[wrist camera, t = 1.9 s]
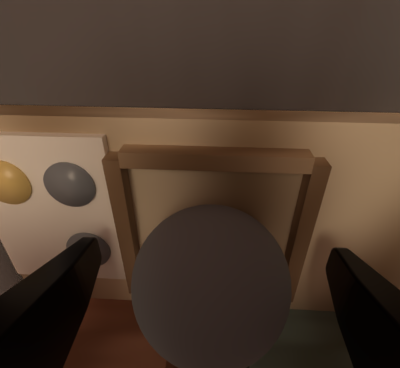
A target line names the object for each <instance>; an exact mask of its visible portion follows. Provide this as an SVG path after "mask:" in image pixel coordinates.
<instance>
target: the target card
mask: <svg viewBox="0 0 400 368" xmlns="http://www.w3.org/2000/svg"><path fill="white" fill-rule="evenodd" d="M108 151H109V150H108V145H107V140H106V134H85V133H46V132H6V131H0V240H1V242H2V244H3V246H4V248H5V250H6V252H7V254H8V256H9V258H10V259H11V261H12V263H13V265H14V267H15V269H16V271H17V273H18V274H28V275H30V274H31V273H33V272H34V271H36V270H37V269H38V268H40V267H41V266H43V265H44V264H45V263H47V262H48V261H50V260H51V259H52V258H54V257H55V256H57V255H58V254H59V253H61V252H62V251H64V250H65V249H66V248H68V247H69V246H71V245H72V244H73V243H75V242H76V241H78V240H79V239H80V238H82V237H85V236H86V237H96V238H97V239H98V243H99V246H100V250H101V254H102V261H101V265H100V268H99V272H98V275H97V278H107V279H126V276H125V271H124V266H123V262H122V257H121V252H120V247H119V242H118V238H117V233H116V228H115V223H114V218H113V213H112V209H111V204H110V199H109V194H108V189H107V185H106V180H105V175H104V170H103V165H102V159H103V158H104V156H105V155H106V154H107V153H108Z"/></svg>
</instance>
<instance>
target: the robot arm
mask: <svg viewBox="0 0 400 368" xmlns="http://www.w3.org/2000/svg"><path fill="white" fill-rule="evenodd" d="M101 261H102V254H101V250H100V246H99V243H98V239H97V238H96V237H86V236H85V237H82V238H80V239H79V240H78V241H76V242H75V243H73V244H72V245H71V246H69V247H68V248H66V249H65V250H64V251H62V252H61V253H59V254H58V255H57V256H55V257H54V258H52V259H51V260H50V261H48V262H47V263H45V264H44V265H43V266H41V267H40V268H38V269H37V270H36V271H34V272H33V273H31V274H30V275H29V276H27V277H26V278H24V279H23V280H22V281H20V282H19V283H17V284H16V285H15V286H13V287H12V288H10V289H9V290H8V291H6V292H5V293H3V294H2V295H1V296H0V368H63V367H64V364H65V362H66V360H67V357H68V355H69V352H70V350H71V347H72V345H73V343H74V340H75V338H76V335H77V333H78V330H79V328H80V326H81V323H82V321H83V318H84V316H85V313H86V311H87V308H88V305H89V302H90V299H91V296H92V292H93V289H94V285H95V282H96V278H97V275H98V272H99V268H100V265H101ZM326 276H327V280H328V284H329V289H330V293H331V297H332V302H333V306H334V310H335V314H336V318H337V322H338V325H339V328H340V331H341V334H342V336H343V339H344V342H345V345H346V348H347V351H348V354H349V356H350V359H351V362H352V365H353V368H400V289H398V288H397V287H396V286H395V285H393V284H392V283H391V282H389V281H388V280H387V279H386V278H384V277H383V276H382V275H381V274H379V273H378V272H377V271H376V270H374V269H373V268H372V267H371V266H369V265H368V264H367V263H366V262H364V261H363V260H362V259H361V258H359V257H358V256H357V255H356V254H354V253H353V252H352V251H351V250H349V249H348V248H342V247H334V248H332V250H331V252H330V255H329V258H328V261H327V263H326Z"/></svg>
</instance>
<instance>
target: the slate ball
mask: <svg viewBox="0 0 400 368" xmlns="http://www.w3.org/2000/svg"><path fill="white" fill-rule="evenodd" d="M131 298H132V306H133V310H134V314H135V317H136V320H137V323H138V325H139V328H140V330H141V331H142V333H143V335H144V337H145V338H146V340H147V341H148V343H149V344H150V345H151V346H152V347H153V349H154V350H155V351H156V352H157V353H158V354H159V355H160V356H161V357H163V358H164V359H165V360H167V361H168V362H170V363H171V364H173V365H174V366H176V367H178V368H246V367H248V366H250V365H252V364H253V363H255V362H257V361H258V360H259V359H260V358H261V357H263V356H264V355H265V354H266V353H267V352H268V351H269V350H270V349H271V348H272V346H273V345H274V344H275V342H276V341H277V339H278V338H279V336H280V334H281V332H282V331H283V329H284V326H285V324H286V321H287V318H288V315H289V311H290V305H291V298H292V292H291V277H290V272H289V267H288V264H287V261H286V258H285V256H284V253H283V251H282V249H281V247H280V246H279V244H278V242H277V241H276V239H275V238H274V236H273V235H272V234H271V233H270V232H269V231H268V230H267V229H266V228H265V226H264V225H262V224H261V223H260V222H259V221H257V220H256V219H255V218H253V217H252V216H250V215H248V214H247V213H245V212H243V211H240V210H238V209H235V208H232V207H229V206H224V205H216V204H204V205H197V206H193V207H188V208H185V209H183V210H180V211H178V212H176V213H174V214H172V215H171V216H169V217H168V218H166V219H165V220H163V221H162V222H161V223H160V224H159V225H158V226H157V227H156V228H155V229H154V230H153V231H152V232H151V233H150V234H149V236H148V237H147V238H146V240H145V241H144V243H143V245H142V246H141V248H140V250H139V253H138V255H137V257H136V260H135V264H134V268H133V271H132V280H131Z"/></svg>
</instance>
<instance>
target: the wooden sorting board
mask: <svg viewBox="0 0 400 368" xmlns="http://www.w3.org/2000/svg"><path fill="white" fill-rule="evenodd" d="M0 131H6V132H46V133H85V134H106V140H107V145H108V150H109V151H108V153H107V154H106V155H105V156H104V158H103V159H102V165H103V170H104V175H105V180H106V185H107V189H108V194H109V199H110V204H111V209H112V213H113V218H114V223H115V228H116V233H117V238H118V242H119V247H120V252H121V257H122V262H123V266H124V271H125V276H126V279H107V278H96V282H95V285H94V289H93V292H92V296H91V299H90V302H89V305H88V308H87V311H86V313H85V316H84V318H83V321H82V323H81V326H80V328H79V330H78V333H77V335H76V338H75V340H74V343H73V345H72V347H71V350H70V352H69V355H68V357H67V360H66V362H65V364H64V367H63V368H178V367H176V366H174V365H173V364H171V363H170V362H168V361H167V360H165V359H164V358H163V357H161V356H160V355H159V354H158V353H157V352H156V351H155V350H154V349H153V347H152V346H151V345H150V344H149V343H148V341H147V340H146V338H145V337H144V335H143V333H142V331H141V330H140V328H139V325H138V323H137V320H136V317H135V314H134V310H133V306H132V298H131V280H132V271H133V268H134V264H135V260H136V257H137V255H138V253H139V250H140V248H141V246H142V245H143V243H144V241H145V240H146V238H147V237H148V236H149V234H150V233H151V232H152V231H153V230H154V229H155V228H156V227H157V226H158V225H159V224H160V223H161V222H162V221H163V220H165V219H166V218H168V217H169V216H171V215H172V214H174V213H176V212H178V211H180V210H183V209H185V208H188V207H193V206H197V205H204V204H216V205H224V206H229V207H232V208H235V209H238V210H240V211H243V212H245V213H247V214H248V215H250V216H252V217H253V218H255V219H256V220H257V221H259V222H260V223H261V224H262V225H264V226H265V228H266V229H267V230H268V231H269V232H270V233H271V234H272V235H273V236H274V238H275V239H276V241H277V242H278V244H279V246H280V247H281V249H282V251H283V253H284V256H285V258H286V261H287V264H288V267H289V272H290V277H291V292H292V298H291V305H290V311H289V315H288V318H287V321H286V324H285V326H284V329H283V331H282V332H281V334H280V336H279V338H278V339H277V341H276V342H275V344H274V345H273V346H272V348H271V349H270V350H269V351H268V352H267V353H266V354H265V355H264V356H263V357H261V358H260V359H259V360H258V361H257V362H255V363H253V364H252V365H250V366H248V367H246V368H353V365H352V362H351V359H350V356H349V354H348V351H347V348H346V345H345V342H344V339H343V336H342V334H341V331H340V328H339V325H338V322H337V318H336V314H335V310H334V306H333V302H332V297H331V293H330V289H329V284H328V280H327V276H326V263H327V261H328V258H329V255H330V252H331V250H332V248H334V247H342V248H348V249H349V250H351V251H352V252H353V253H354V254H356V255H357V256H358V257H359V258H361V259H362V260H363V261H364V262H366V263H367V264H368V265H369V266H371V267H372V268H373V269H374V270H376V271H377V272H378V273H379V274H381V275H382V276H383V277H384V278H386V279H387V280H388V281H389V282H391V283H392V284H393V285H395V286H396V287H397V288H398V289H400V113H383V112H333V111H284V110H234V109H185V108H135V107H86V106H36V105H0ZM21 275H22V277H23V279H24V278H26V277H27V276H29V275H28V274H21Z"/></svg>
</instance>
